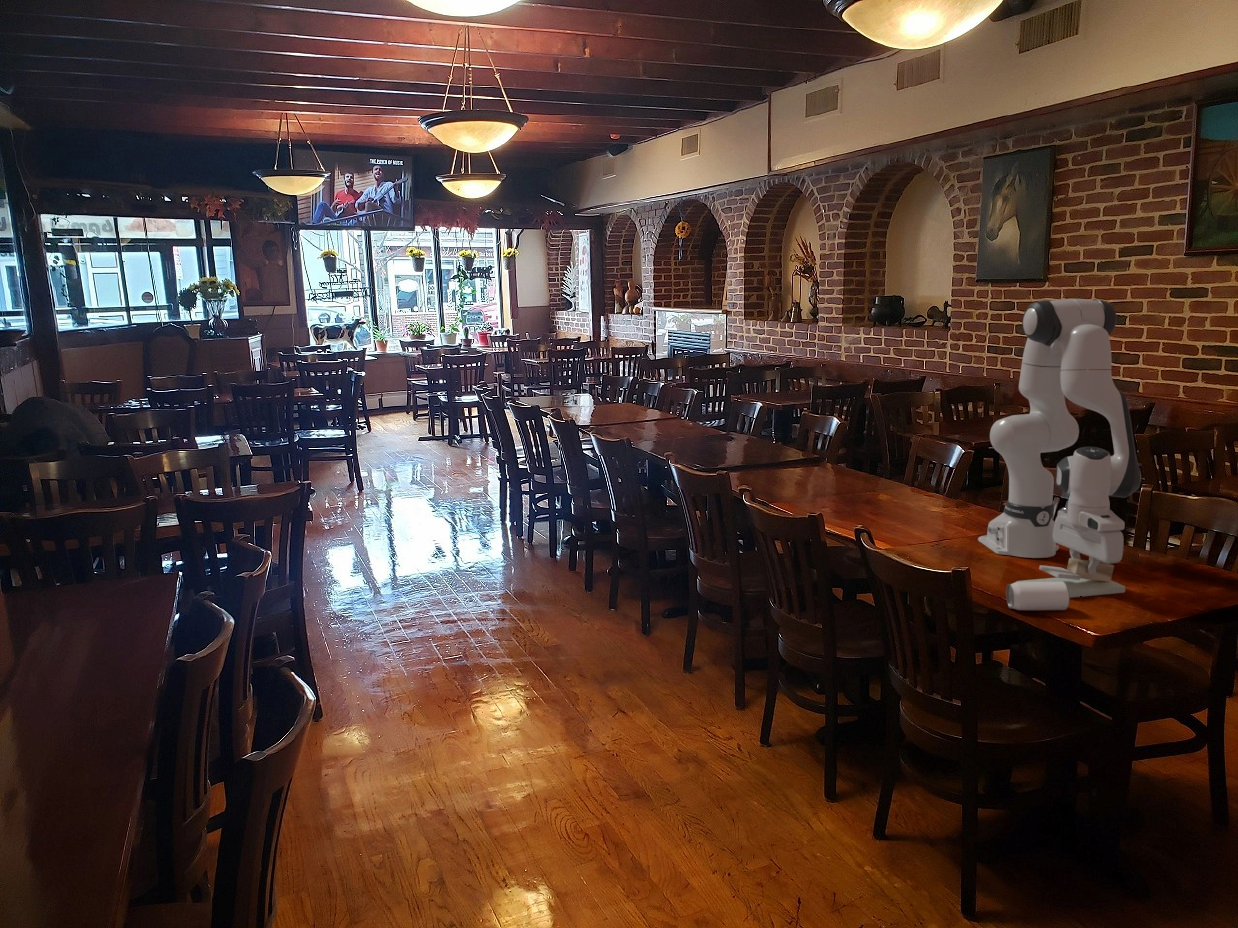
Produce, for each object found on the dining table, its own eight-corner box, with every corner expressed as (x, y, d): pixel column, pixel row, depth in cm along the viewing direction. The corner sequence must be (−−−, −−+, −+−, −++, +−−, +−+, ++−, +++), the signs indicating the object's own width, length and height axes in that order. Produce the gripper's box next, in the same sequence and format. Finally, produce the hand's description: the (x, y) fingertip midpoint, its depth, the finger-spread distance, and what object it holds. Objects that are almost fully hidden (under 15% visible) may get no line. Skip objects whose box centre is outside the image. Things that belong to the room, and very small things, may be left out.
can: (1070, 585, 193) (1013, 586, 195) (1070, 613, 194) (1013, 613, 196) (1060, 578, 200) (1005, 578, 202) (1060, 605, 200) (1005, 605, 202)
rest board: (1016, 586, 213) (1016, 581, 213) (1095, 579, 217) (1096, 573, 217) (1042, 600, 204) (1042, 594, 203) (1124, 592, 207) (1125, 586, 207)
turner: (1039, 569, 212) (1042, 553, 211) (1095, 575, 215) (1099, 559, 214) (1057, 577, 205) (1061, 561, 205) (1115, 583, 208) (1119, 568, 208)
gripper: (1047, 506, 217) (1044, 559, 220) (1105, 526, 197) (1101, 584, 200) (1070, 504, 218) (1066, 557, 221) (1130, 524, 198) (1125, 582, 201)
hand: (1083, 570), depth 210 cm, fingers closed on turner, 3 cm apart
